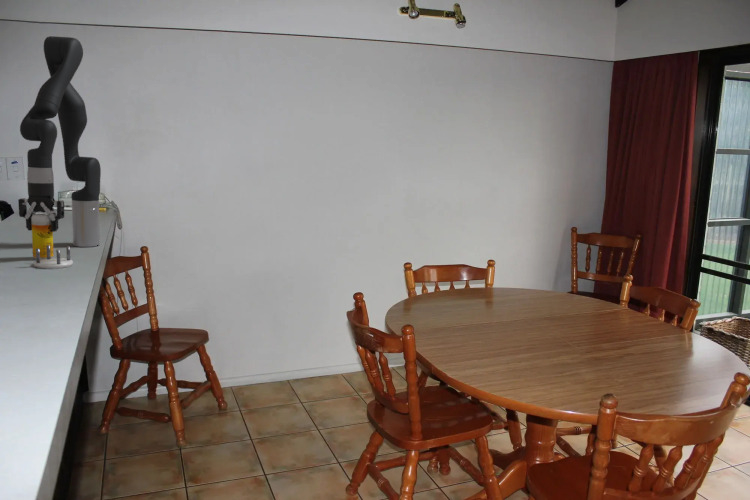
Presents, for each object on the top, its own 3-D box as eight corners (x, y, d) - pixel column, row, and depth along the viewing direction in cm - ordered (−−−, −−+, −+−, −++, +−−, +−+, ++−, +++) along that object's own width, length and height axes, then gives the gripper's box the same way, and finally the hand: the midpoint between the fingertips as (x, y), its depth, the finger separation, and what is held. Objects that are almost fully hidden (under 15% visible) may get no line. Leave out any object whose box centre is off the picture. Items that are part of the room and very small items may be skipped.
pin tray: (45, 260, 197) (44, 243, 196) (79, 262, 197) (78, 245, 196) (26, 267, 186) (26, 249, 185) (62, 269, 186) (61, 251, 185)
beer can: (47, 260, 197) (45, 215, 194) (29, 259, 197) (27, 214, 194) (57, 257, 203) (55, 213, 200) (39, 256, 203) (38, 212, 200)
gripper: (68, 181, 199) (69, 230, 202) (24, 179, 199) (26, 228, 202) (56, 183, 192) (58, 233, 195) (11, 180, 192) (14, 231, 194)
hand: (42, 230), depth 198 cm, fingers open, 7 cm apart
